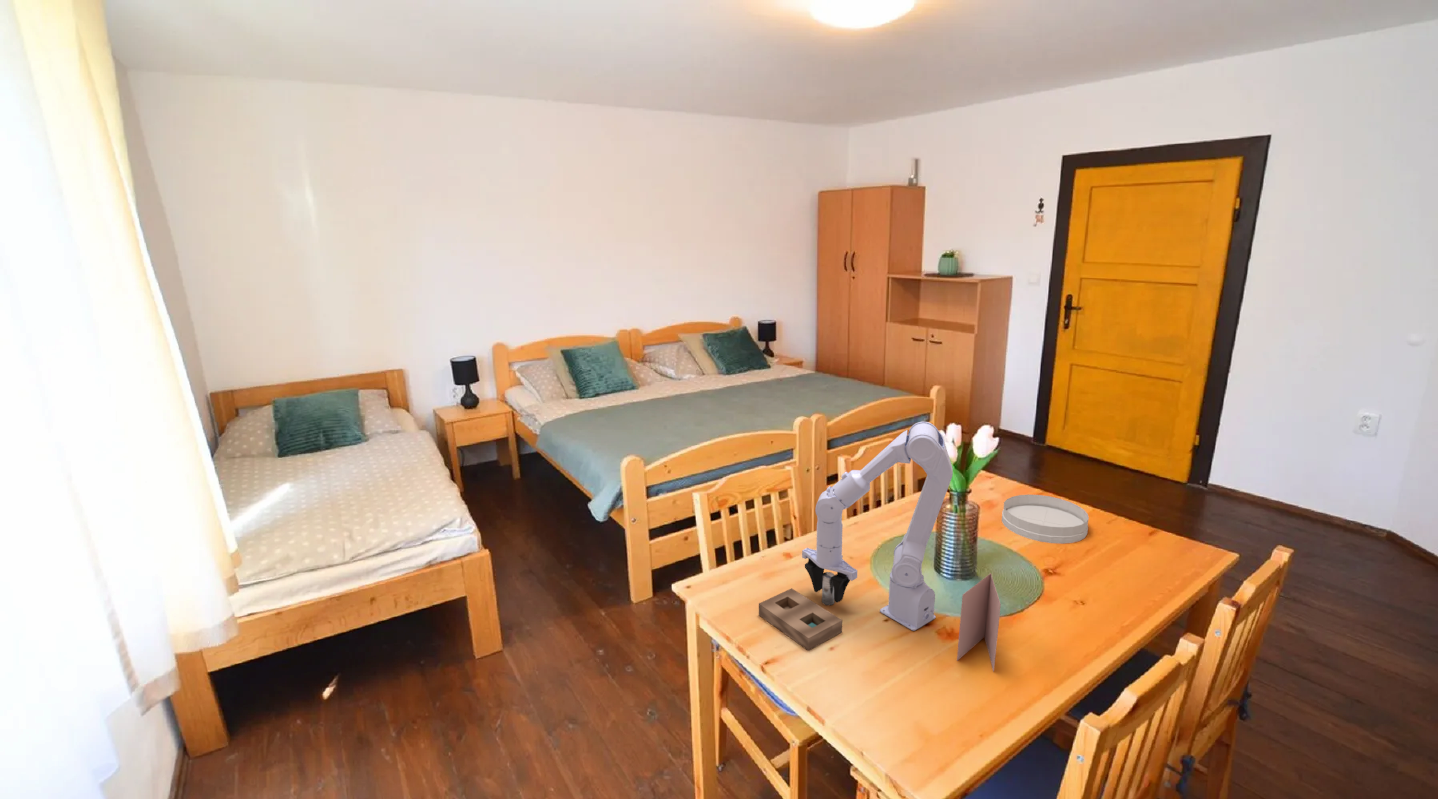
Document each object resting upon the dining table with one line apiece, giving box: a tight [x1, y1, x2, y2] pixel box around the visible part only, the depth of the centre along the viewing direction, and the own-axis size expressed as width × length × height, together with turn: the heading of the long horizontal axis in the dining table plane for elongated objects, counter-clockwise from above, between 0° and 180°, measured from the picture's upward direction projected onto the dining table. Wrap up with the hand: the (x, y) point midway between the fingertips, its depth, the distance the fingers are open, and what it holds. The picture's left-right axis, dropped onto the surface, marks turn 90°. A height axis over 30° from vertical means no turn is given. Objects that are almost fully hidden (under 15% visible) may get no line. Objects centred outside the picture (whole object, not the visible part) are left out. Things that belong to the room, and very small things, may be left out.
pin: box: [821, 571, 835, 606], centre depth 149 cm, size 3×3×7 cm
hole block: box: [758, 588, 843, 651], centre depth 141 cm, size 16×10×3 cm, turn 36°
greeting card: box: [956, 573, 1001, 673], centre depth 128 cm, size 11×7×15 cm, turn 131°
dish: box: [1001, 494, 1089, 544], centre depth 183 cm, size 22×22×5 cm
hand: (828, 595), depth 149 cm, fingers open, 5 cm apart
